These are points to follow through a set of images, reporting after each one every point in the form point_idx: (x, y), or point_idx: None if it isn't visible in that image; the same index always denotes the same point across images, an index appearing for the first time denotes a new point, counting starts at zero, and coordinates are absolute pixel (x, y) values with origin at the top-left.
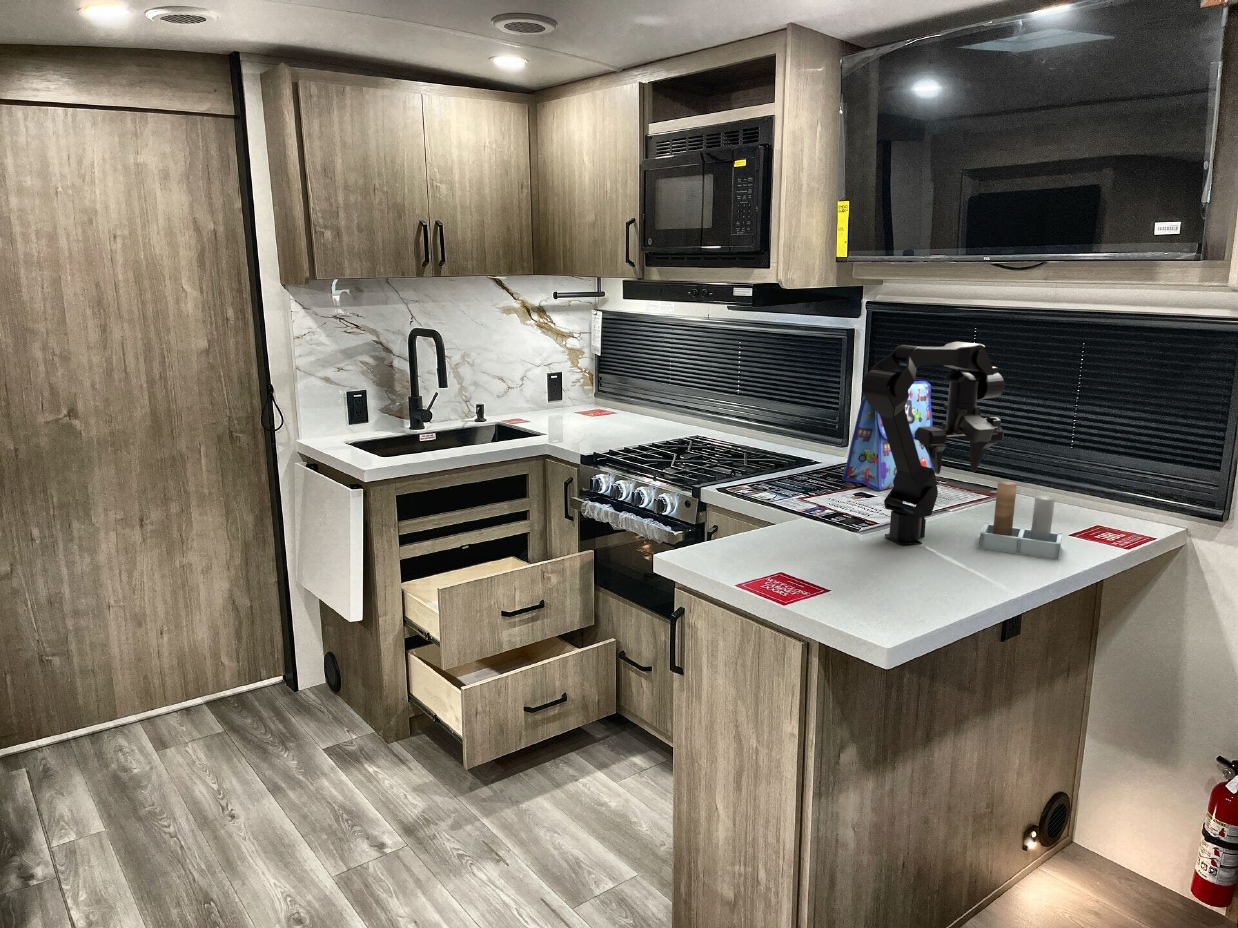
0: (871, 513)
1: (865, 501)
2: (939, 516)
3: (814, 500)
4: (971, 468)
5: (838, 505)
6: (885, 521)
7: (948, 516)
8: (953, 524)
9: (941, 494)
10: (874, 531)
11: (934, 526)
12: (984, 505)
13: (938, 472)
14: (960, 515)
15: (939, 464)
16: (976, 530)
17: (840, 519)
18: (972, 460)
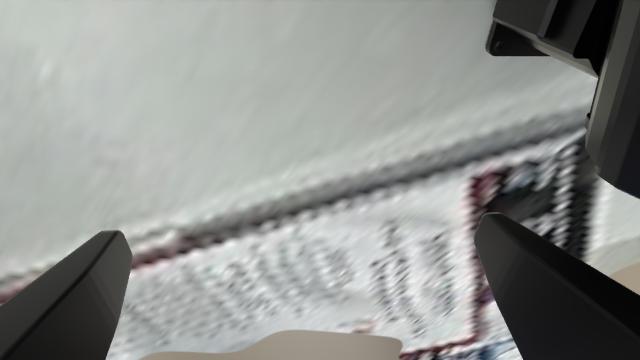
0: (416, 248)
1: (357, 315)
2: (241, 195)
3: (458, 330)
4: (127, 270)
5: (439, 302)
6: (438, 188)
7: (210, 190)
8: (244, 114)
9: (127, 335)
10: (554, 114)
11: (328, 111)
12: (26, 255)
13: (509, 218)
14: (162, 191)
15: (575, 269)
16: (191, 21)
17: (531, 223)
18: (91, 344)
